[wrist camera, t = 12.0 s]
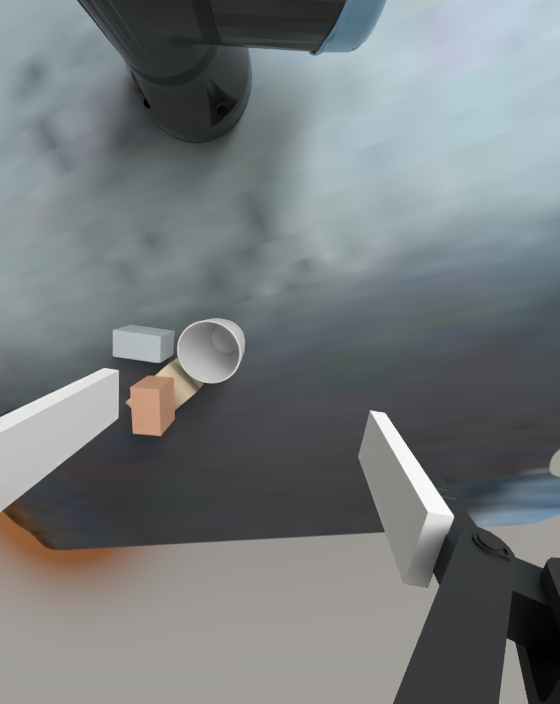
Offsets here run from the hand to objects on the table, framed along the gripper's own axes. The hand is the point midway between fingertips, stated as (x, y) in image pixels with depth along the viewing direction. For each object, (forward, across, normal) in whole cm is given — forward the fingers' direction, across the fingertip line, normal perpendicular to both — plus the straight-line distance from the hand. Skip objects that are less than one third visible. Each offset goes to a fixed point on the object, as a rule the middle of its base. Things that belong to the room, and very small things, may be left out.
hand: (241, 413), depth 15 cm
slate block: (+31, -19, -6) cm, 37 cm away
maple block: (+31, -16, -14) cm, 38 cm away
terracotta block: (+27, -16, -14) cm, 34 cm away
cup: (+31, -8, -4) cm, 32 cm away
